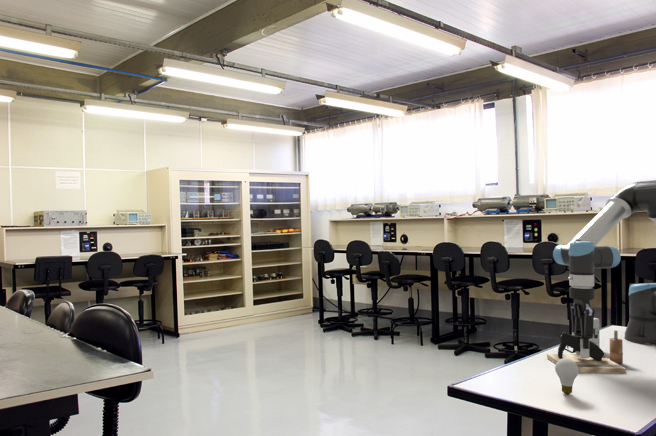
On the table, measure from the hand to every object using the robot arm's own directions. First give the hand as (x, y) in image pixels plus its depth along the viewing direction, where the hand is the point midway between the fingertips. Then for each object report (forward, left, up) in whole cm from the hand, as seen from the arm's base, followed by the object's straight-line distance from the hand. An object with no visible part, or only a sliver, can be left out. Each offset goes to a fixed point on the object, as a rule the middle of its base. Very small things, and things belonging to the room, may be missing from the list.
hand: (582, 356), depth 168 cm
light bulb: (+18, +30, -3) cm, 35 cm away
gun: (0, 0, -1) cm, 1 cm away
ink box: (-11, -22, -3) cm, 25 cm away
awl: (-12, -2, -3) cm, 13 cm away
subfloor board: (0, +1, -3) cm, 3 cm away
